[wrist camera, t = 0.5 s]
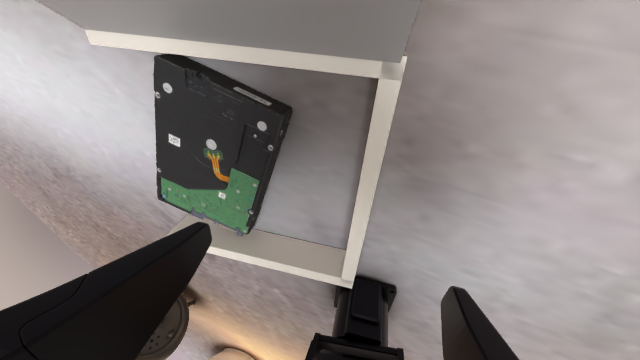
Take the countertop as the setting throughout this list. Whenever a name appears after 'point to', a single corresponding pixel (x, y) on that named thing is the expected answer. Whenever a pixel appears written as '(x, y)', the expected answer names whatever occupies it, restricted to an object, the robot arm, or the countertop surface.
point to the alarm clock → (168, 332)
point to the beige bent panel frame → (283, 51)
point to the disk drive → (214, 142)
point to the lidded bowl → (231, 355)
